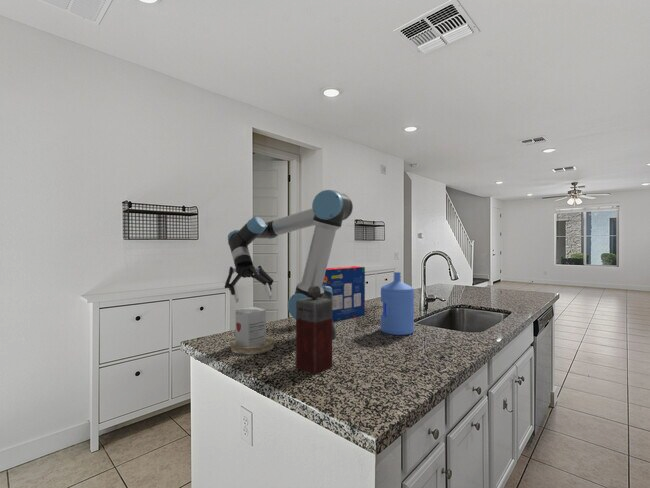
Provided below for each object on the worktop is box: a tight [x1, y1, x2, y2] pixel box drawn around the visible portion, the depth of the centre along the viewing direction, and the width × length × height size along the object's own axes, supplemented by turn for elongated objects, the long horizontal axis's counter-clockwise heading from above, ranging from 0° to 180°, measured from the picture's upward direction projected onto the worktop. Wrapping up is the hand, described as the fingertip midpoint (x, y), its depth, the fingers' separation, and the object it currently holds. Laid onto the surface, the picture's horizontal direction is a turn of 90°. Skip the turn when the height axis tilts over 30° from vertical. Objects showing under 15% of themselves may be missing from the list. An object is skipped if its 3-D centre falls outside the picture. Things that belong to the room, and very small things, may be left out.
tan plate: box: [229, 335, 275, 355], centre depth 141 cm, size 17×17×2 cm
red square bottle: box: [295, 286, 333, 375], centre depth 119 cm, size 9×11×28 cm
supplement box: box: [235, 306, 267, 347], centre depth 140 cm, size 9×9×15 cm
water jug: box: [380, 271, 415, 336], centre depth 166 cm, size 16×16×28 cm
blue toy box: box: [322, 265, 366, 323], centre depth 194 cm, size 28×8×28 cm, turn 131°
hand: (254, 299), depth 139 cm, fingers open, 13 cm apart
